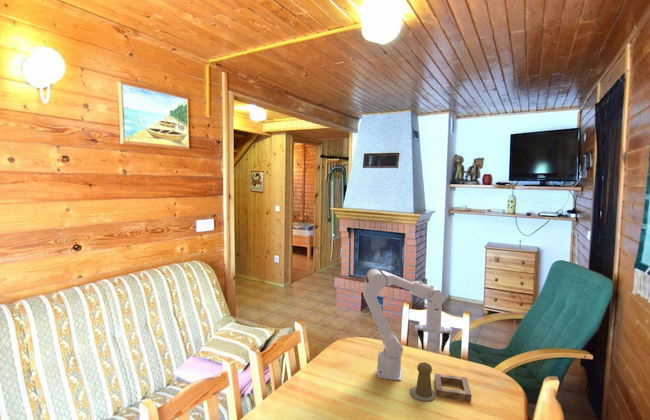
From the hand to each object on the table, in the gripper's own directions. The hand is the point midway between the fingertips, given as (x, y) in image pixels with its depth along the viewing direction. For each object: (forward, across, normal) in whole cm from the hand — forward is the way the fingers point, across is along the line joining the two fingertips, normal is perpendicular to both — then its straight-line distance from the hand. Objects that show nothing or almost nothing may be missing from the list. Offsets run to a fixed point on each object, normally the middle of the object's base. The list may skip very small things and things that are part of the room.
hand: (432, 349), depth 148 cm
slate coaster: (+10, -4, -16) cm, 19 cm away
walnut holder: (+10, +7, -10) cm, 16 cm away
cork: (+10, -4, -16) cm, 19 cm away
